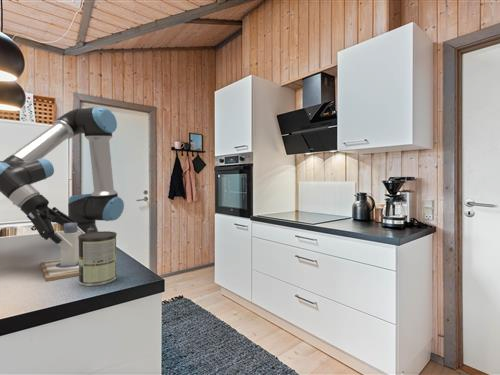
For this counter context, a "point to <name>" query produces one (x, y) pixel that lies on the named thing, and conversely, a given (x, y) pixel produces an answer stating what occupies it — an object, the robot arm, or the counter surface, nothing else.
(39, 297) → the counter surface
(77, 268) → the picture frame
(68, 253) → the dome-capped white pillar
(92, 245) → the coffee can
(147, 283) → the counter surface
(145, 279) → the counter surface
